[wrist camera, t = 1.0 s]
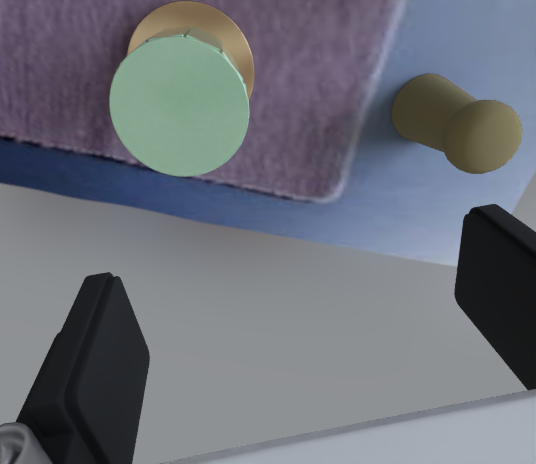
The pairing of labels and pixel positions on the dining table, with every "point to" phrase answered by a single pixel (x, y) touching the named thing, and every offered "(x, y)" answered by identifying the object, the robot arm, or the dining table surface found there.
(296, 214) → the dining table surface
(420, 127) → the olive pawn figure
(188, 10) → the disc
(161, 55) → the green grooved cylinder
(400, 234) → the dining table surface
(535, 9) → the dining table surface
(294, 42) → the dining table surface
